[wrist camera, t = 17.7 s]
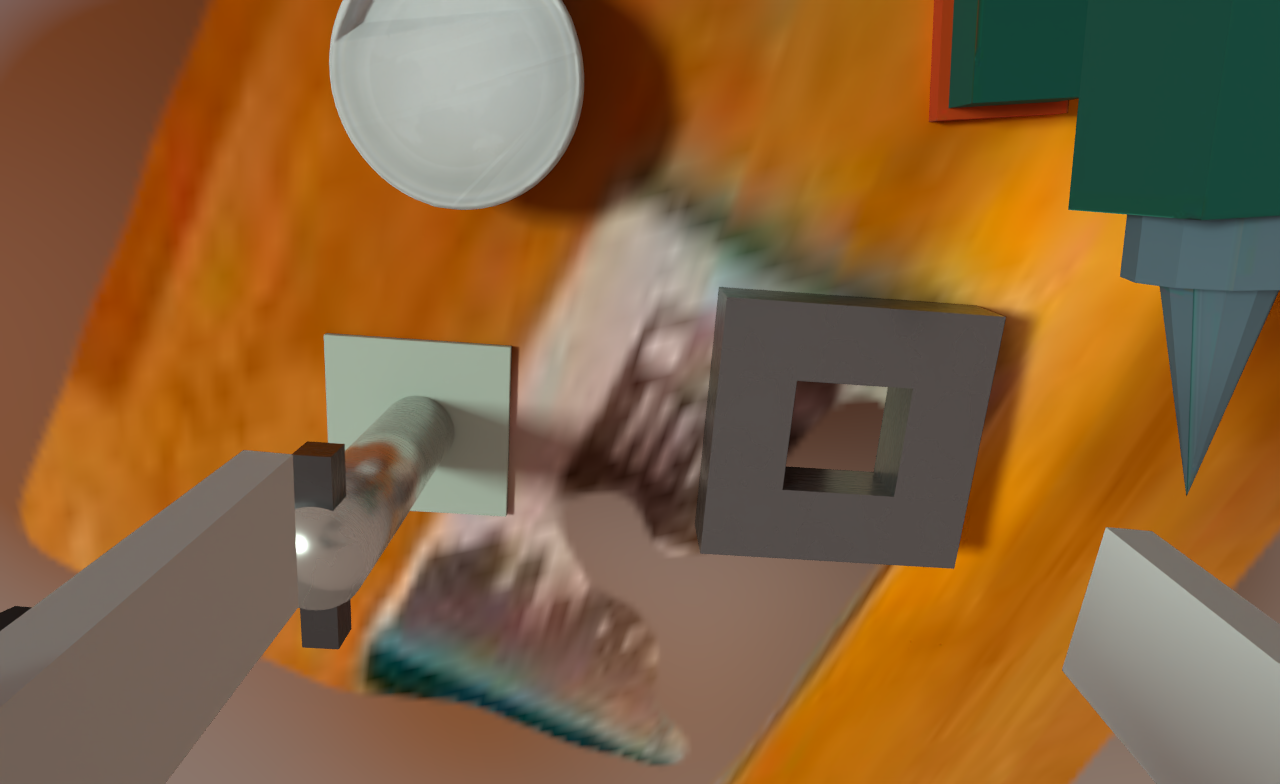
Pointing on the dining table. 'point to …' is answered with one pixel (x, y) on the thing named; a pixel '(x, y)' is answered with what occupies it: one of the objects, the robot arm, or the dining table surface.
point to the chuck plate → (909, 440)
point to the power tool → (1150, 153)
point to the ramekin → (458, 93)
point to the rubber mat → (452, 376)
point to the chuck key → (358, 507)
